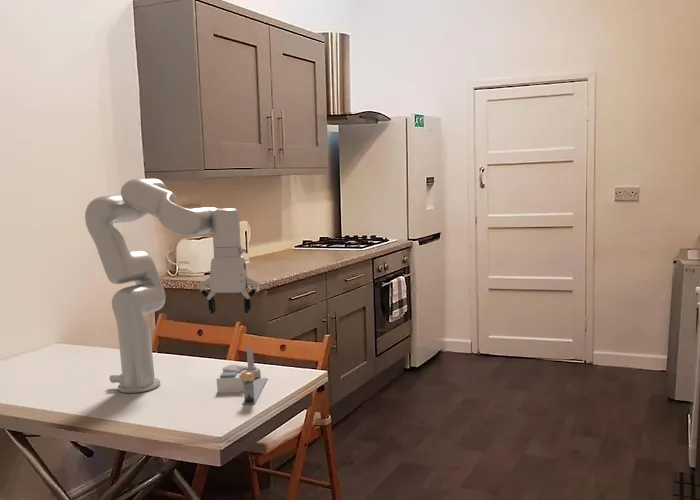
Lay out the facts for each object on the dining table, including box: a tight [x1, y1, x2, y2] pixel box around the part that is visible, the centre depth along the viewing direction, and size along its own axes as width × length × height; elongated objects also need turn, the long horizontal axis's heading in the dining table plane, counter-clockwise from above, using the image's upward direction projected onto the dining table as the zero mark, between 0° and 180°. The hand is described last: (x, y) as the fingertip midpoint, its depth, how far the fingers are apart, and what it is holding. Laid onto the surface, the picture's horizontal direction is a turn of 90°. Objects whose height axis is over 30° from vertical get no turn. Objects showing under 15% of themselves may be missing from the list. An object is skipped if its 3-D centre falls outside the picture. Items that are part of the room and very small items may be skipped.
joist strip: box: [241, 377, 268, 406], centre depth 205 cm, size 4×24×1 cm, turn 178°
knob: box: [241, 372, 256, 403], centre depth 195 cm, size 4×4×8 cm
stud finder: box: [216, 371, 245, 394], centre depth 208 cm, size 8×4×5 cm, turn 88°
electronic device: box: [222, 346, 262, 379], centre depth 223 cm, size 5×10×15 cm
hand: (230, 312), depth 197 cm, fingers open, 9 cm apart
